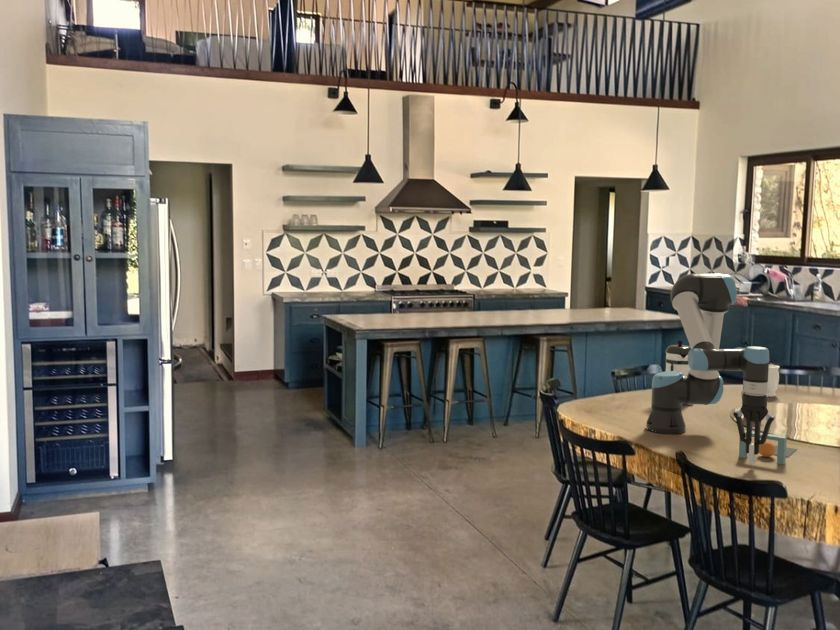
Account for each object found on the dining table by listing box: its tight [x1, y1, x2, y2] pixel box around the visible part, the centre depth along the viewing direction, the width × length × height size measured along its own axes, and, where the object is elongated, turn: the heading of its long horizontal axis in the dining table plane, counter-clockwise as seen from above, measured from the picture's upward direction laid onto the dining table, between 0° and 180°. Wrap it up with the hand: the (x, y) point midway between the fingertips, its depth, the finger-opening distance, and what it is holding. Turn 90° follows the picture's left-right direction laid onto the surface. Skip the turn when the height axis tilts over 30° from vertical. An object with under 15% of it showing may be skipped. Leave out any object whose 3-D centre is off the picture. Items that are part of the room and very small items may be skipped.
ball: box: [758, 440, 776, 458], centre depth 269 cm, size 6×6×6 cm
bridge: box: [738, 429, 788, 466], centre depth 265 cm, size 14×3×9 cm, turn 52°
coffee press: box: [665, 339, 694, 406], centre depth 359 cm, size 17×16×30 cm
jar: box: [766, 363, 781, 398], centre depth 378 cm, size 11×10×15 cm
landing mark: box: [772, 445, 798, 458], centre depth 278 cm, size 13×13×1 cm
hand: (751, 463), depth 255 cm, fingers closed
